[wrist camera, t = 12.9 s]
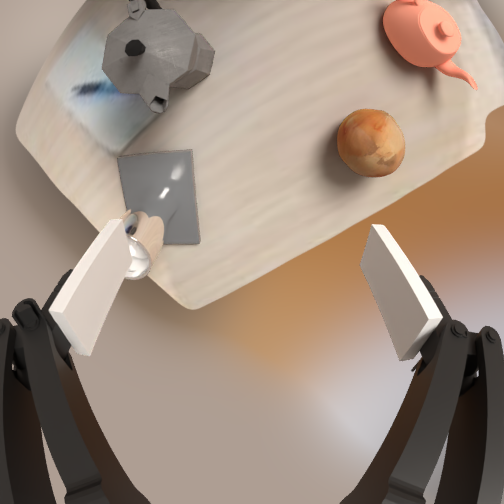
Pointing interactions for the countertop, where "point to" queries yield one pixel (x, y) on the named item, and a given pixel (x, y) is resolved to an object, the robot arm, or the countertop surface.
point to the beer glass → (148, 228)
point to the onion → (371, 143)
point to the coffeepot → (155, 54)
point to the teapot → (425, 36)
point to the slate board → (171, 176)
